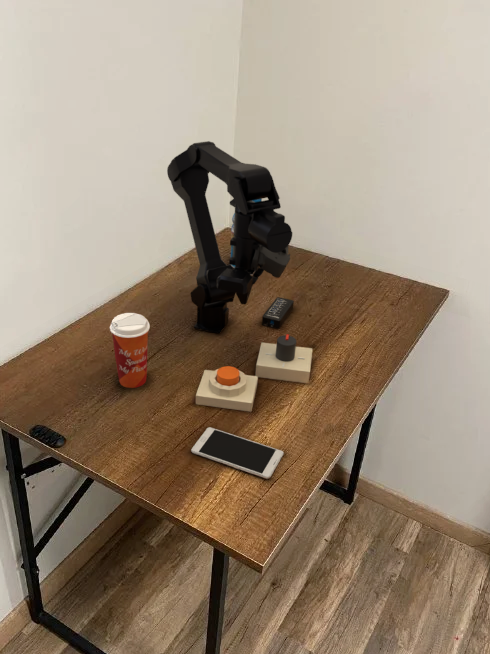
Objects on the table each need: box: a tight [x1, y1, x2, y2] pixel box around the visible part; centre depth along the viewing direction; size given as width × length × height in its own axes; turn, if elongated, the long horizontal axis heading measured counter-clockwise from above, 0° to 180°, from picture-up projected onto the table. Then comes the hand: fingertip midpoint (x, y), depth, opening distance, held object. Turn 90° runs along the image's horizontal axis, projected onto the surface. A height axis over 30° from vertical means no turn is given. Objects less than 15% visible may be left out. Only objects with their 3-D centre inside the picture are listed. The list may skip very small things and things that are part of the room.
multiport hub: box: [261, 296, 295, 330], centre depth 151 cm, size 4×11×2 cm, turn 155°
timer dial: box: [276, 333, 297, 362], centre depth 131 cm, size 4×4×4 cm
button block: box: [195, 368, 259, 413], centre depth 125 cm, size 11×9×4 cm
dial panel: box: [254, 342, 313, 384], centre depth 133 cm, size 11×9×3 cm
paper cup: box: [109, 312, 151, 389], centre depth 125 cm, size 8×8×14 cm
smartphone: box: [190, 426, 285, 480], centre depth 111 cm, size 8×1×15 cm
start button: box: [216, 365, 240, 386], centre depth 123 cm, size 4×4×2 cm
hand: (243, 303), depth 132 cm, fingers closed
